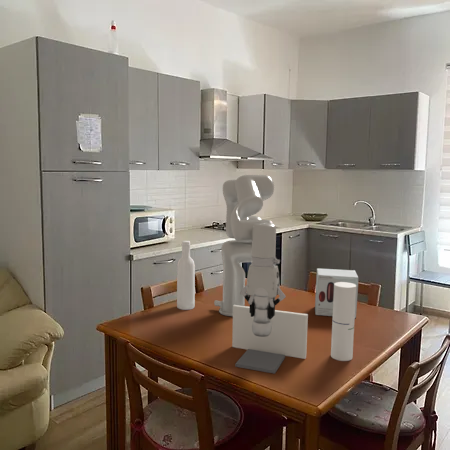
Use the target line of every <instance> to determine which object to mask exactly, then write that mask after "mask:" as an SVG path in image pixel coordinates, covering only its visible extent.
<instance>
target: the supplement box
mask: <svg viewBox="0 0 450 450" xmlns="http://www.w3.org/2000/svg"><path fill="white" fill-rule="evenodd" d="M315 281H316V283H315V302H314V312H315V316H325V317H327V316H328V317H333V297H334V283H337V282H348V283H353V284H355V285H356V300H355V319H356V318H357V306H358V294H359V293H358V291H359V275H358V274H357V272H356V270H355V269H353V270H352V269H341V268H340V269H335V268H334V269H333V268H320V267H319V268H316V280H315Z"/></svg>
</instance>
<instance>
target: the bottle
mask: <svg viewBox="0 0 450 450" xmlns="http://www.w3.org/2000/svg"><path fill="white" fill-rule="evenodd" d="M191 246H192V245H191V241H190V240H182V241H181V257H180V258H179V259H178V261H177V265H176V278H177V279H176V282H177V283H176V307H177V309H179V310H182V311H190V310H193V309H194V308H195V304H196V301H195V299H196V298H195V297H196V296H195V288H196V287H195V286H196V284H195V283H196V282H195V281H196V280H195V277H196V275H195V273H196V271H195V270H196V269H195V268H196V265H195V264H196V263H195V261H194V259H193V258H192V257H191Z"/></svg>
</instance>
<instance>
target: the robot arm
mask: <svg viewBox="0 0 450 450" xmlns="http://www.w3.org/2000/svg"><path fill="white" fill-rule="evenodd" d="M274 184H275V183H274V181H273V178H272V177H271V176H269V175H267V174H244V175H241V176H239V177H237V179H229V180H225V181H224V182H223V184H222V195H223V198H224V201H225V204H226V215H225V217H226V218H225V219H226V220H225V234H226V236H227V237H228V238H230V240H226V241H224V242H223V243H222V245H221V251H220V252H221V259H222V300H216V299H215V300H214V303H213V304H214V306H215V307H219V309H218V313H220V315H223V316H226V317H233V306H234V305H240V306H246V305H245V302H246V301H247V303H248V305H249V307H250V313H251V317H253V316H254V291H255V290H256V289H257V288H260V287H261V288H264V289H265V290H266V291H267V293H268V298H270V300H269V302H270V307H269V319H272V318H273V316H274V315H275V310H276V306H277V305H278V304H279V303H280V302H281V301H284V299H285V298H286V294H285V293H284V292H283V291H282V289H281V288H280V287H281V284H280V271H279V266H278V265H279V264H280V262H281V259H280V258H279V259H278V258H277V256H276V246H277V245H276V244H277V242H276V241H277V228H276V225H275V224H274V222H273V221H272V220H270V219H262V217H260V216H258V215H257V216H256V214H258V213H259V212H260V211H261V210H262V209H263V206H264V201H266V200H269V199H270V198H271V197H273V195H274V191H275V185H274ZM231 239H232V240H231ZM240 263H241V264H242V263H251V264H249V266H248V272H247V277H246V272H245V269H244V268H243V267H242V266H241V265H240ZM246 278H247V279H246ZM277 296H279V297H277ZM276 297H277V298H276ZM245 300H246V301H245Z"/></svg>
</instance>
